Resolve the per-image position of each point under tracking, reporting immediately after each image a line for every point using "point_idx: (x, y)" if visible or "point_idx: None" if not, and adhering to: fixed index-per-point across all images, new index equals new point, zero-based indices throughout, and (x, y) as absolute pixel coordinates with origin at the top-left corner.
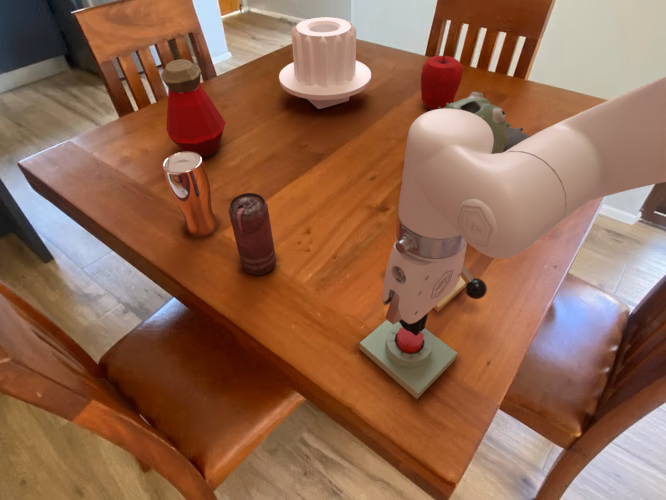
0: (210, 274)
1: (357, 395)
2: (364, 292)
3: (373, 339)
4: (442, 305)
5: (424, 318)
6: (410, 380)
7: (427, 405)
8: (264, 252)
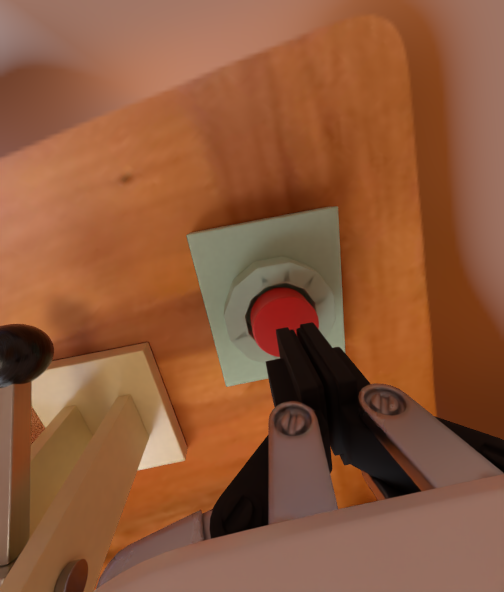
0: None
1: (403, 278)
2: (248, 434)
3: None
4: (130, 350)
5: (308, 368)
6: (327, 242)
7: (318, 182)
8: None
